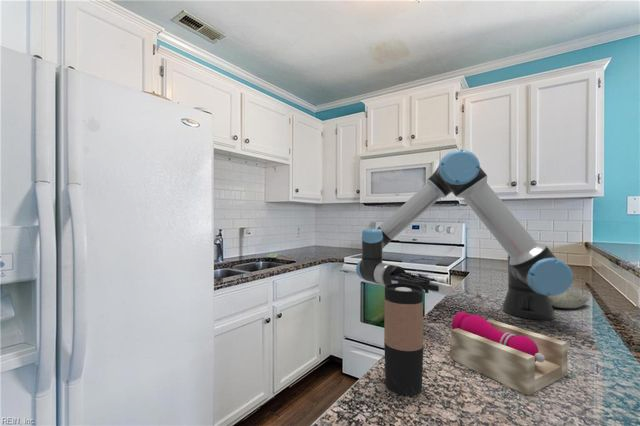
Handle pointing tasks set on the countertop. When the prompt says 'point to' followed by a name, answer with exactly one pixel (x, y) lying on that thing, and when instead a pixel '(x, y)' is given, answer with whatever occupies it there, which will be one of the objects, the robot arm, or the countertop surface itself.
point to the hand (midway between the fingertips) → (450, 290)
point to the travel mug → (403, 338)
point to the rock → (568, 299)
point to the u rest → (511, 358)
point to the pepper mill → (495, 334)
